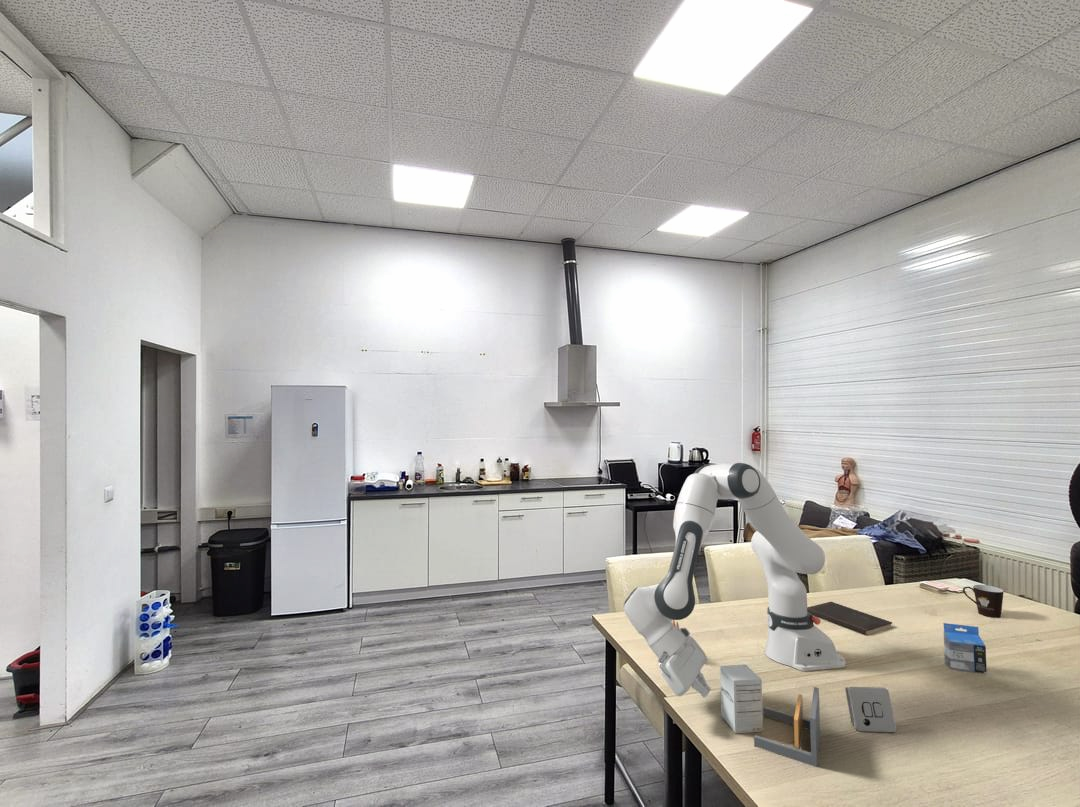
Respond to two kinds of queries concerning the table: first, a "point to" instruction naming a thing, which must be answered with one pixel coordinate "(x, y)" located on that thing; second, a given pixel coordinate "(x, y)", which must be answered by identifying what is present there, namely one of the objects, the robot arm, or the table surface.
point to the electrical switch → (870, 709)
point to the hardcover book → (849, 618)
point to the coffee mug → (987, 600)
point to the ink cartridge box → (964, 649)
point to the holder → (810, 724)
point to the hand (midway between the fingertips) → (707, 693)
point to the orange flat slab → (798, 722)
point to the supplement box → (741, 698)
